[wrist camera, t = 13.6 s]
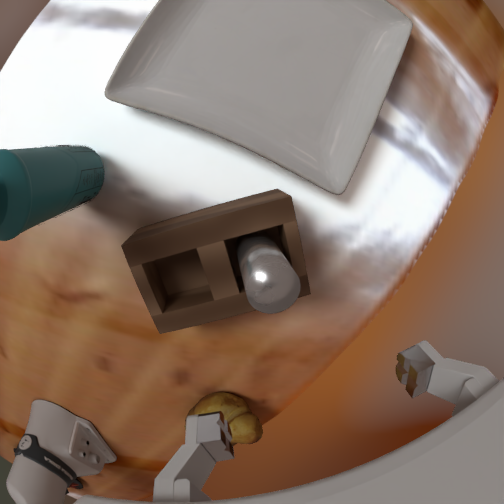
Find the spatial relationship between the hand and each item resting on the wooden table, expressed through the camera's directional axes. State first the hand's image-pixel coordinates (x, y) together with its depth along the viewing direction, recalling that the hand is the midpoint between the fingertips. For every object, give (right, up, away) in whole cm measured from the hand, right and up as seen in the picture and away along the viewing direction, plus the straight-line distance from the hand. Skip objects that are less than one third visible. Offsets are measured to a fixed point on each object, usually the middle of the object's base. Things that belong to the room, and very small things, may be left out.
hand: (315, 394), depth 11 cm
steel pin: (-2, +7, +19) cm, 20 cm away
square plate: (0, +30, +14) cm, 33 cm away
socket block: (-6, +6, +21) cm, 23 cm away
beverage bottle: (-21, +15, +16) cm, 31 cm away
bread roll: (-9, -19, +30) cm, 36 cm away
